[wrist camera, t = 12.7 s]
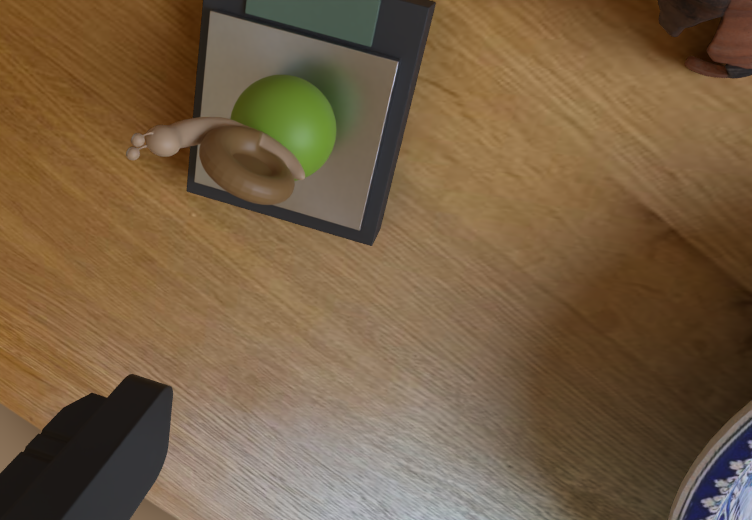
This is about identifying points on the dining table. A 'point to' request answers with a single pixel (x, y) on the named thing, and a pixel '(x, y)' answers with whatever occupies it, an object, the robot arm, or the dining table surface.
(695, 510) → the ceramic bowl
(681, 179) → the dining table surface
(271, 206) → the scale
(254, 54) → the scale platter
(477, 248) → the dining table surface
